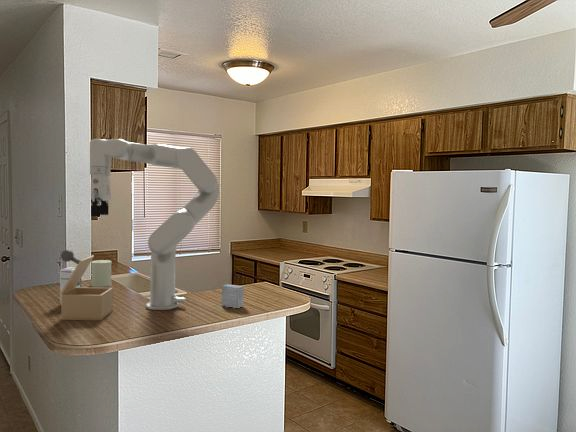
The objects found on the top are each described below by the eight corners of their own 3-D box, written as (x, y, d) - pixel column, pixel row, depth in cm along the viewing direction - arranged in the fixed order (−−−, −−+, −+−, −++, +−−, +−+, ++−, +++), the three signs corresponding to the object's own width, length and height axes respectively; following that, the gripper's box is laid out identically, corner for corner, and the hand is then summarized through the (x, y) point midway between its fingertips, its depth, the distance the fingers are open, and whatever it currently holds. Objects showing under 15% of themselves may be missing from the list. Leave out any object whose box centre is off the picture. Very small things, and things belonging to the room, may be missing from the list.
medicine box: (243, 307, 194) (244, 286, 194) (238, 309, 190) (238, 288, 190) (227, 304, 198) (227, 284, 197) (221, 306, 194) (221, 285, 193)
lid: (94, 255, 181) (73, 243, 181) (81, 261, 168) (58, 247, 168) (75, 287, 182) (54, 274, 181) (61, 294, 169) (38, 281, 168)
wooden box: (112, 310, 183) (112, 287, 183) (101, 320, 170) (101, 295, 170) (75, 310, 182) (75, 287, 182) (61, 319, 169) (61, 294, 169)
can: (87, 286, 225) (87, 261, 224) (98, 282, 234) (98, 258, 233) (105, 287, 223) (105, 262, 222) (115, 284, 232) (115, 259, 231)
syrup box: (72, 306, 188) (72, 269, 188) (59, 304, 190) (59, 268, 189) (81, 302, 194) (81, 267, 193) (69, 301, 195) (69, 266, 194)
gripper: (102, 170, 176) (102, 217, 177) (116, 172, 193) (116, 214, 194) (82, 170, 176) (82, 216, 177) (97, 171, 193) (97, 214, 194)
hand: (100, 215), depth 186 cm, fingers open, 9 cm apart
